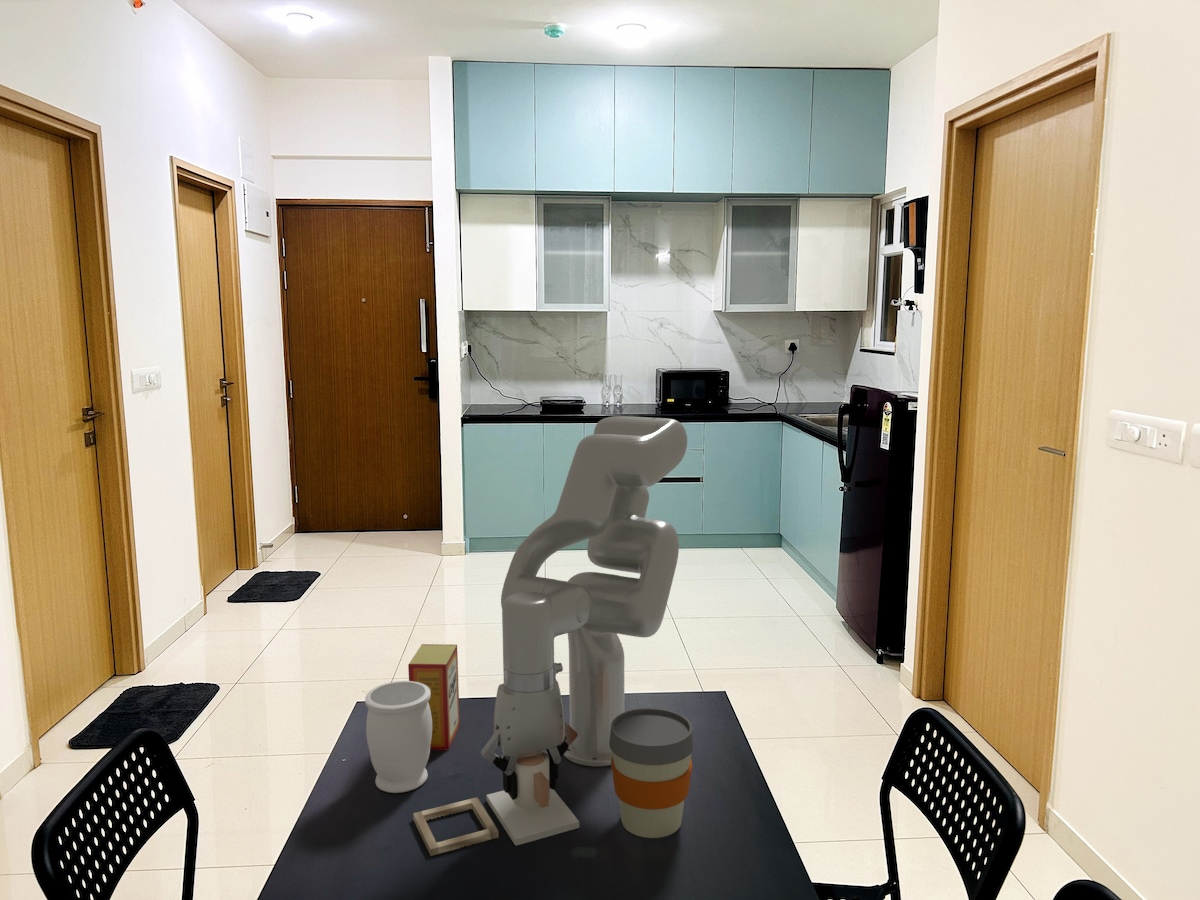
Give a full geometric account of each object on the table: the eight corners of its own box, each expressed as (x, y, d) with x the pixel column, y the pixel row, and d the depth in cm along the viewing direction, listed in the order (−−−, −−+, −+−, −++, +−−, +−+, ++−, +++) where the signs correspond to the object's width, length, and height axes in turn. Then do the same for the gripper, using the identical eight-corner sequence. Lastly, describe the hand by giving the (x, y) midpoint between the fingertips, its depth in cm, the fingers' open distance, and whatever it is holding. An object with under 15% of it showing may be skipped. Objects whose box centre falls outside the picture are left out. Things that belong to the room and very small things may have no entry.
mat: (545, 785, 139) (545, 779, 139) (579, 827, 128) (579, 821, 127) (486, 800, 135) (486, 794, 135) (515, 845, 123) (515, 839, 123)
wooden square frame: (477, 803, 134) (477, 797, 134) (498, 837, 125) (498, 831, 125) (413, 819, 130) (413, 813, 130) (430, 856, 121) (430, 849, 121)
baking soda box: (424, 724, 160) (421, 642, 158) (459, 725, 160) (457, 642, 158) (411, 749, 151) (408, 662, 149) (448, 750, 151) (445, 663, 148)
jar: (418, 801, 135) (414, 710, 133) (357, 794, 137) (352, 705, 135) (443, 766, 145) (440, 682, 143) (386, 761, 147) (382, 677, 145)
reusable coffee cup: (619, 850, 122) (619, 751, 120) (602, 802, 134) (601, 711, 132) (704, 839, 124) (705, 742, 122) (679, 793, 137) (680, 703, 134)
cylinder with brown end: (507, 794, 132) (506, 751, 131) (541, 785, 134) (540, 743, 133) (526, 822, 125) (526, 777, 124) (562, 812, 127) (562, 768, 126)
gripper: (571, 657, 135) (572, 766, 138) (465, 677, 128) (468, 791, 130) (592, 675, 128) (593, 788, 131) (481, 697, 121) (484, 817, 124)
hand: (531, 789), depth 131 cm, fingers closed on cylinder with brown end, 5 cm apart
